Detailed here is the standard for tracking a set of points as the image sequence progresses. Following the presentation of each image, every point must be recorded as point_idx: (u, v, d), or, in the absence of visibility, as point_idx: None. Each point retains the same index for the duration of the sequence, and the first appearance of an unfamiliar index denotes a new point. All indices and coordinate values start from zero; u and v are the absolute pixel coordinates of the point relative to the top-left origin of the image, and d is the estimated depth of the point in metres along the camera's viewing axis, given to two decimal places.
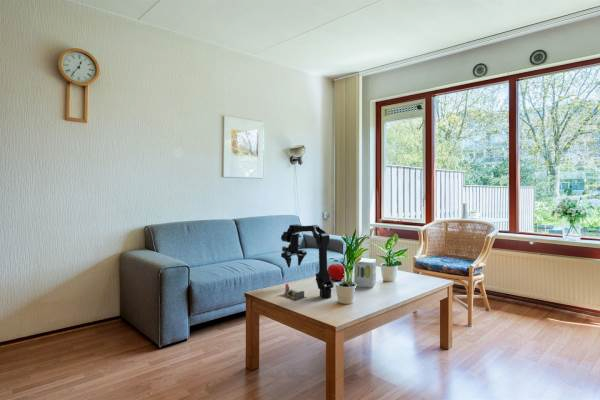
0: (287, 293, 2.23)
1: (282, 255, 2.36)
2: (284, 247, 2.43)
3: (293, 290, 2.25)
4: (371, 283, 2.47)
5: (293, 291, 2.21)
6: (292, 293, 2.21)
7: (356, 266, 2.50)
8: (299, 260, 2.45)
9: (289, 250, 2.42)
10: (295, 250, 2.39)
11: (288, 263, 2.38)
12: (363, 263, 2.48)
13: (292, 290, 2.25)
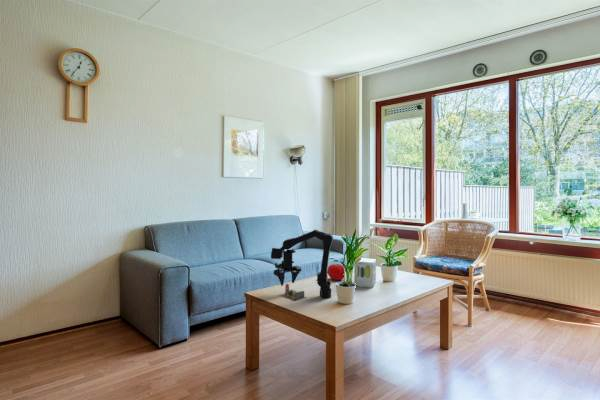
0: (287, 293, 2.23)
1: (275, 272, 2.20)
2: (277, 263, 2.27)
3: (293, 290, 2.25)
4: (371, 283, 2.47)
5: (293, 291, 2.21)
6: (292, 293, 2.21)
7: (356, 266, 2.50)
8: (293, 277, 2.29)
9: None
10: (289, 267, 2.23)
11: (281, 281, 2.22)
12: (363, 263, 2.48)
13: (292, 290, 2.25)
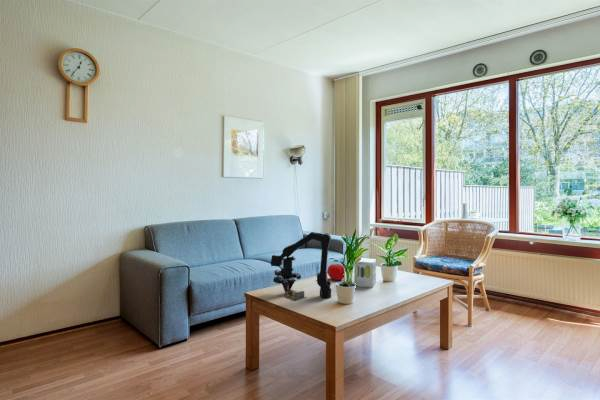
0: (287, 293, 2.23)
1: (274, 280, 2.20)
2: (277, 271, 2.27)
3: (293, 290, 2.25)
4: (371, 283, 2.47)
5: (293, 291, 2.21)
6: (292, 293, 2.21)
7: (356, 266, 2.50)
8: (289, 285, 2.27)
9: (282, 274, 2.26)
10: (288, 274, 2.23)
11: (285, 287, 2.24)
12: (363, 263, 2.48)
13: (292, 290, 2.25)
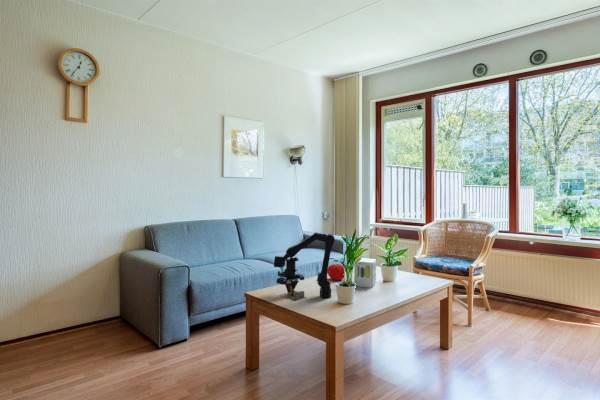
0: (290, 294, 2.21)
1: (277, 281, 2.18)
2: (280, 272, 2.25)
3: None
4: (371, 283, 2.47)
5: (295, 292, 2.21)
6: (294, 294, 2.20)
7: (356, 266, 2.50)
8: (292, 286, 2.25)
9: (285, 275, 2.24)
10: (292, 275, 2.21)
11: (288, 288, 2.22)
12: (363, 263, 2.48)
13: None
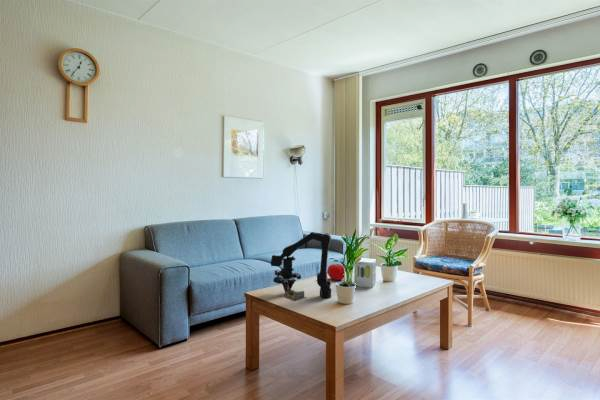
0: (287, 293, 2.23)
1: (274, 280, 2.20)
2: (277, 271, 2.27)
3: (293, 290, 2.25)
4: (371, 283, 2.47)
5: (295, 292, 2.21)
6: (294, 294, 2.20)
7: (356, 266, 2.50)
8: (289, 285, 2.27)
9: (282, 274, 2.26)
10: (288, 274, 2.23)
11: (285, 287, 2.24)
12: (363, 263, 2.48)
13: (292, 290, 2.25)
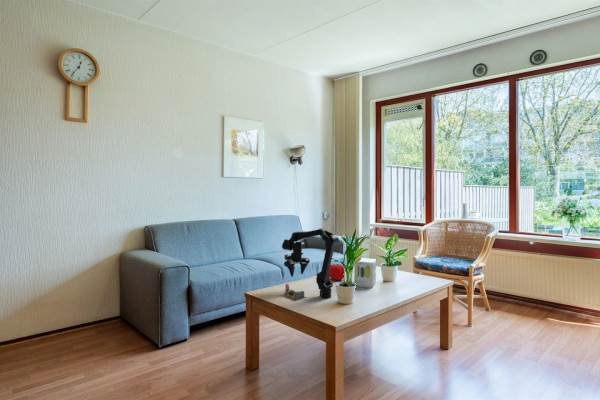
0: (287, 293, 2.23)
1: (285, 264, 2.28)
2: (287, 255, 2.34)
3: (293, 290, 2.25)
4: (371, 283, 2.47)
5: (295, 292, 2.21)
6: (294, 294, 2.20)
7: (356, 266, 2.50)
8: (302, 268, 2.37)
9: (292, 258, 2.33)
10: (298, 258, 2.31)
11: (291, 272, 2.29)
12: (363, 263, 2.48)
13: (292, 290, 2.25)
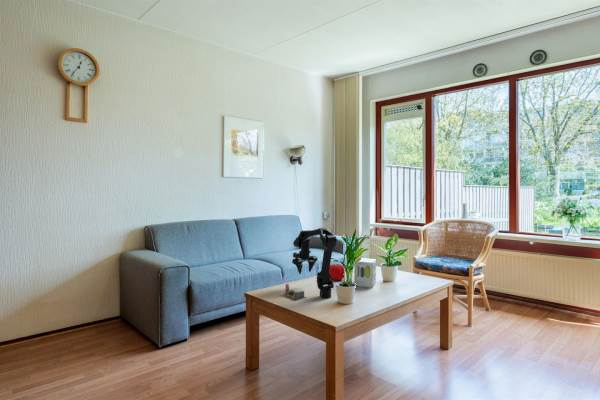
0: (287, 293, 2.23)
1: (293, 261, 2.35)
2: (295, 253, 2.41)
3: (293, 290, 2.25)
4: (371, 283, 2.47)
5: (295, 292, 2.21)
6: (294, 294, 2.20)
7: (356, 266, 2.50)
8: (310, 266, 2.43)
9: (300, 256, 2.40)
10: (306, 256, 2.37)
11: (299, 269, 2.36)
12: (363, 263, 2.48)
13: (292, 290, 2.25)
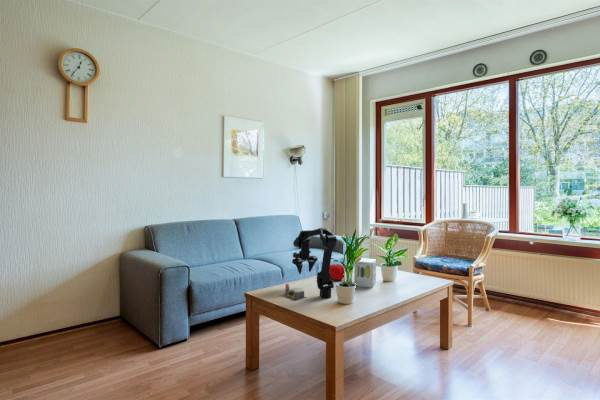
0: (287, 293, 2.23)
1: (293, 261, 2.35)
2: (295, 253, 2.41)
3: (293, 290, 2.25)
4: (371, 283, 2.47)
5: (295, 292, 2.21)
6: (294, 294, 2.20)
7: (356, 266, 2.50)
8: (310, 266, 2.43)
9: (300, 256, 2.40)
10: (306, 256, 2.37)
11: (299, 269, 2.36)
12: (363, 263, 2.48)
13: (292, 290, 2.25)
